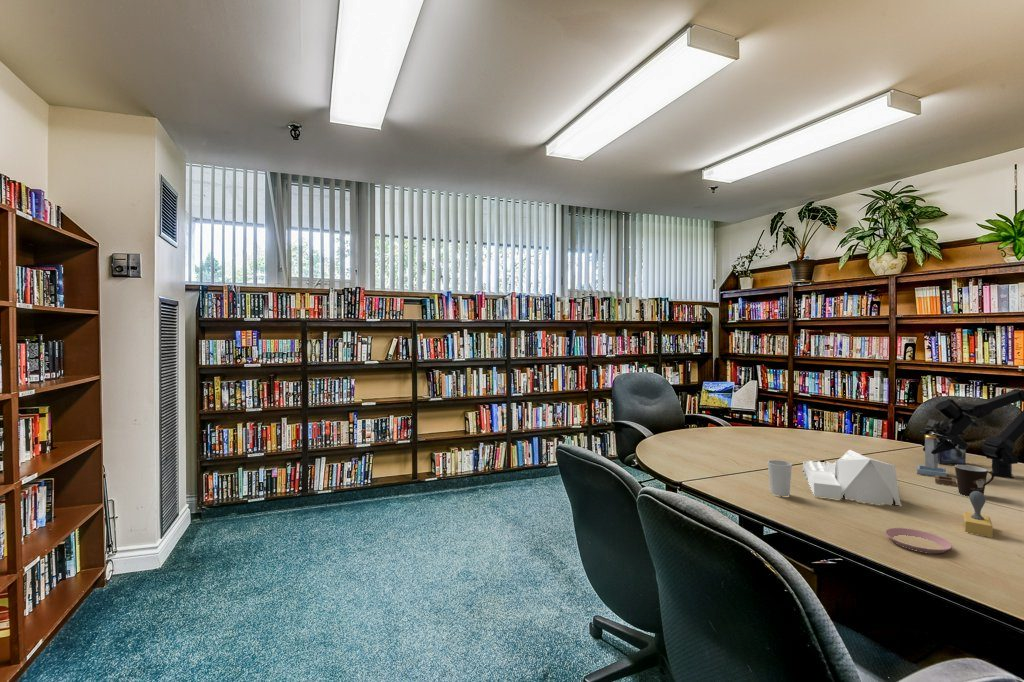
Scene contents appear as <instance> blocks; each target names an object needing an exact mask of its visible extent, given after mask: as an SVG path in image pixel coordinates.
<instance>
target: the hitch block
mask: <svg viewBox="0 0 1024 682" xmlns="http://www.w3.org/2000/svg"><path fill="white" fill-rule="evenodd" d="M934 481H935V483H937V484H936V485H942V484H944V485H943V486H948V485H951V487H955V486H956V487H957V477H953V476H946V477H945V476H938V475H935V477H934Z"/></svg>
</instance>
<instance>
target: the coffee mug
mask: <svg viewBox="0 0 1024 682" xmlns="http://www.w3.org/2000/svg"><path fill="white" fill-rule="evenodd" d="M954 469H955V478H956V484H957V490H958V494H959V493H960V495H961V494H962V495H961V496H964V495H965V497H968V496H970V493H971V492H973V491H979V492H981V493H982V494H984V495H985V490H986V486H987V485H989V484H990V483H991V482H993V480H994V478H995V476H994V475H993V473H992V472H990V470H989V471H988V469H986V468H985V467H981V466H975V465H969V464H967V465H954ZM988 474H990V476H991V477H990V479H989V480H988V481H987V477H988Z"/></svg>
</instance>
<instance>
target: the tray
mask: <svg viewBox="0 0 1024 682" xmlns="http://www.w3.org/2000/svg"><path fill="white" fill-rule="evenodd" d="M916 467H917V468H916V469H917V470H916V471H917V472H916V475H918V474H922V475H921V476H925V475H928V476H927V477H932V476H935V475H938V476H945V477H947V470H946V468H944V467H938V469H936V470H931V469H926V468H925V465H921V464H917V465H916Z"/></svg>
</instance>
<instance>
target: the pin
mask: <svg viewBox="0 0 1024 682" xmlns="http://www.w3.org/2000/svg"><path fill="white" fill-rule="evenodd" d="M937 439H938V436H936V435H924V446H925V451H924V459H925V461H924V463H925V464H924V466H925V468H926V469H931V470H936V469H938V468H939V464H938V453H936V454H932V453H931V451H932V450H933V449H934V448H935V447H936V446H937Z"/></svg>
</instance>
